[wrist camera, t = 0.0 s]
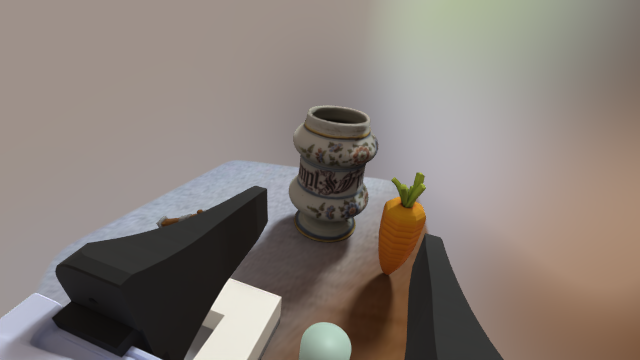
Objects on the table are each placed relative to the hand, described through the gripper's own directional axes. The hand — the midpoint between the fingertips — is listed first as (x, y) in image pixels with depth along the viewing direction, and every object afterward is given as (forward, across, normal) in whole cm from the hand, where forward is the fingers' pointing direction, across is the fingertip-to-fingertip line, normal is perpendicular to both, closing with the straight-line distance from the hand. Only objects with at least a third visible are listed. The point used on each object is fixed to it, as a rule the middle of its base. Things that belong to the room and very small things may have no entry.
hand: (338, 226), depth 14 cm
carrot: (+19, -4, +24) cm, 31 cm away
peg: (+2, 0, +22) cm, 22 cm away
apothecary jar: (+26, +7, +24) cm, 36 cm away
